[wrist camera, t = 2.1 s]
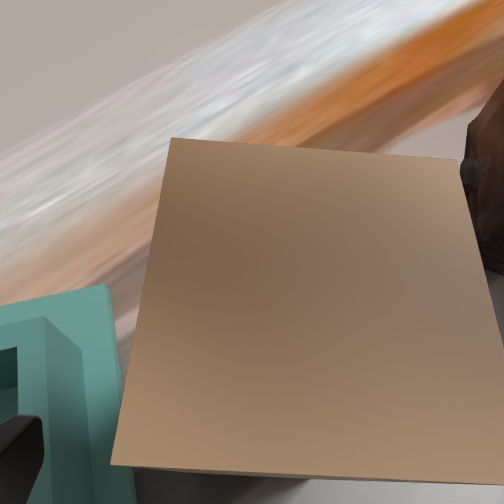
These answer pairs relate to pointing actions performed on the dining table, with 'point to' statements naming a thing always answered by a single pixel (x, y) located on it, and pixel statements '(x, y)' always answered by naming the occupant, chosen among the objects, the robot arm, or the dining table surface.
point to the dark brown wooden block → (486, 180)
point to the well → (67, 392)
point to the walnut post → (314, 322)
